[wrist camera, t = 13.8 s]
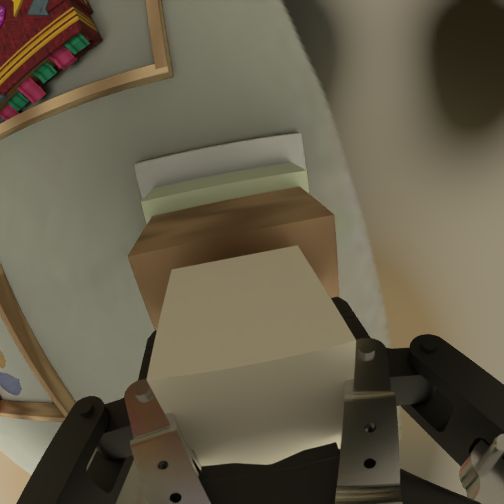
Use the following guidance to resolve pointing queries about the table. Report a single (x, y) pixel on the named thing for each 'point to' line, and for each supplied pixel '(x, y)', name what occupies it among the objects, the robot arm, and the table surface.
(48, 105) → the book tray
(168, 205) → the base brick
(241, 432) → the cream brick
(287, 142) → the baseplate
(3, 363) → the toy pieces
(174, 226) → the walnut brick
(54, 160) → the table surface
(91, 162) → the table surface
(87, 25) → the decorative book
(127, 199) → the table surface
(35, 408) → the pieces tray
